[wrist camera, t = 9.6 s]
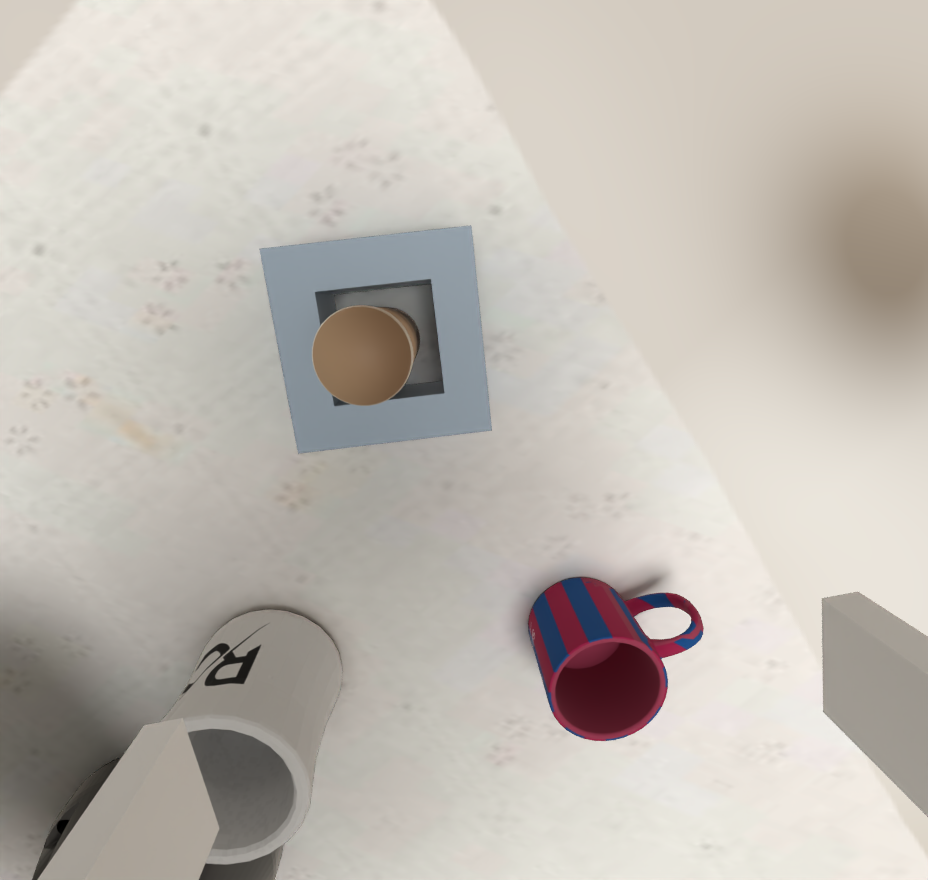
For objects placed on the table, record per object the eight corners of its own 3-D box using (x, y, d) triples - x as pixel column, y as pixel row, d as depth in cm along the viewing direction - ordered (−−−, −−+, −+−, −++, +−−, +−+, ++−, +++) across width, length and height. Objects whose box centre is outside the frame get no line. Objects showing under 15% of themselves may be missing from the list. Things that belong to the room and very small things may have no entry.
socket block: (318, 432, 33) (298, 453, 28) (287, 258, 30) (259, 248, 26) (483, 412, 33) (491, 430, 28) (465, 238, 31) (471, 225, 26)
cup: (513, 599, 36) (531, 664, 30) (655, 542, 36) (705, 595, 29) (547, 679, 38) (572, 758, 31) (684, 626, 37) (738, 694, 31)
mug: (295, 579, 35) (241, 683, 25) (370, 684, 37) (348, 817, 27) (135, 668, 36) (24, 801, 26) (218, 766, 38) (143, 922, 28)
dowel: (362, 374, 32) (320, 411, 21) (352, 310, 31) (303, 311, 20) (424, 367, 32) (418, 400, 21) (416, 303, 31) (405, 299, 20)
